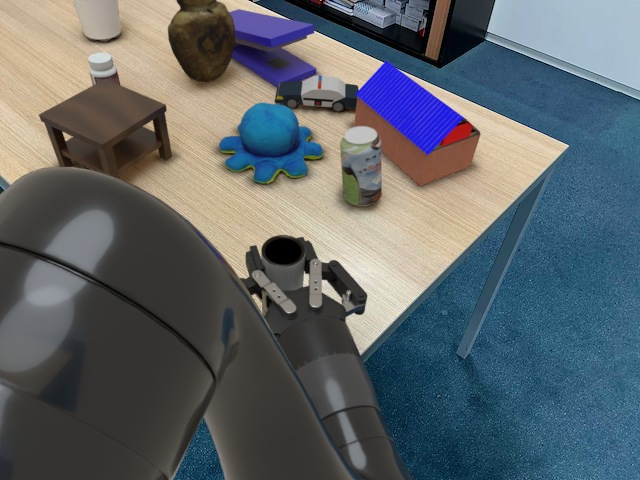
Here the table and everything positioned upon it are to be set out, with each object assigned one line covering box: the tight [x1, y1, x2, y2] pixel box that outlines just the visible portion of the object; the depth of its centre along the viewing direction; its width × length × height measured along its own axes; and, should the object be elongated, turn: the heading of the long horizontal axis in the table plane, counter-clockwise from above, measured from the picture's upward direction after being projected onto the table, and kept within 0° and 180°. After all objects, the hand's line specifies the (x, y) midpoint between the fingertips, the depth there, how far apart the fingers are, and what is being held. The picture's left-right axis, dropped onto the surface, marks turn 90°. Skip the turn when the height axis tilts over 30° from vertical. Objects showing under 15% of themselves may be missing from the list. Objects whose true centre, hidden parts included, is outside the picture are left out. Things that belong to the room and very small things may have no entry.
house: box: [353, 60, 482, 187], centre depth 93 cm, size 12×20×12 cm, turn 32°
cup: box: [71, 0, 122, 43], centre depth 115 cm, size 10×10×13 cm
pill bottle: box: [87, 51, 121, 86], centre depth 99 cm, size 5×5×8 cm
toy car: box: [274, 74, 360, 113], centre depth 104 cm, size 5×16×5 cm, turn 88°
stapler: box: [229, 8, 318, 88], centre depth 114 cm, size 12×28×10 cm, turn 43°
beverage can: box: [339, 126, 383, 207], centre depth 83 cm, size 6×7×12 cm
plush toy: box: [218, 102, 324, 184], centre depth 91 cm, size 17×17×8 cm
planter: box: [260, 234, 305, 316], centre depth 59 cm, size 4×4×10 cm
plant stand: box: [38, 79, 173, 179], centre depth 86 cm, size 13×13×10 cm
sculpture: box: [167, 0, 235, 83], centre depth 102 cm, size 13×8×20 cm, turn 123°
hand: (276, 247), depth 59 cm, fingers closed on planter, 4 cm apart
